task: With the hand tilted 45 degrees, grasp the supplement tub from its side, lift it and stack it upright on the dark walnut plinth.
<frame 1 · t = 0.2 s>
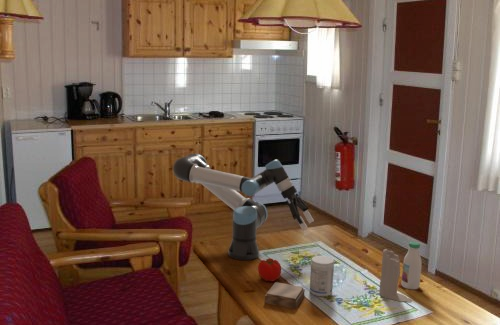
hand: (308, 225, 267), 16 cm above the table, tool tilted 35°, fingers open, 13 cm apart
plinth: (284, 299, 219), on the table
supplement tub: (320, 292, 227), on the table
tomato: (269, 279, 239), on the table
milk bottle: (410, 286, 237), on the table
beige bookend: (395, 297, 226), on the table
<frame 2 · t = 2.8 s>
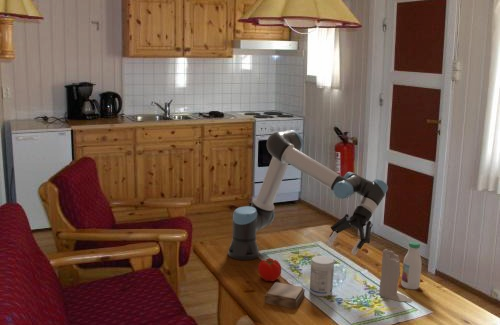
hand: (340, 249, 231), 17 cm above the table, tool tilted 45°, fingers open, 13 cm apart
nothing on the table moved.
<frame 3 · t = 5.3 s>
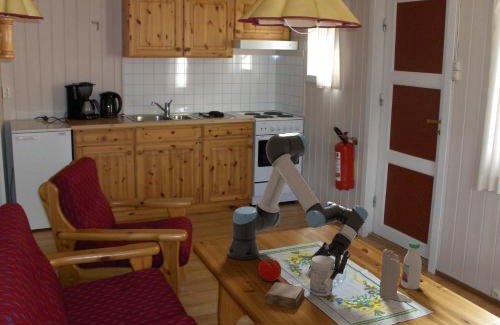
hand: (316, 280, 224), 6 cm above the table, tool tilted 45°, fingers closed on supplement tub, 9 cm apart
supplement tub: (320, 292, 227), on the table, touching gripper
everything else where it was.
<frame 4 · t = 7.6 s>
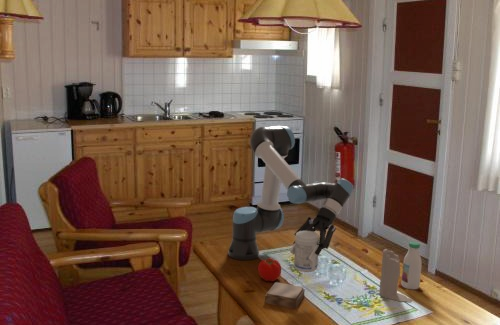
hand: (300, 256, 217), 18 cm above the table, tool tilted 45°, fingers closed on supplement tub, 9 cm apart
supplement tub: (305, 268, 220), point 12 cm above the table, touching gripper
everything else where it was.
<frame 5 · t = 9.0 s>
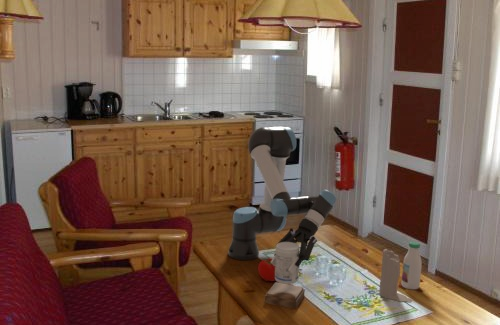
hand: (281, 267, 214), 14 cm above the table, tool tilted 45°, fingers closed on supplement tub, 9 cm apart
supplement tub: (286, 280, 217), point 8 cm above the table, touching gripper
everything else where it was.
when the fingers open (11 cm above the table, at t = 10.0 s): supplement tub drops 1 cm, resting on plinth.
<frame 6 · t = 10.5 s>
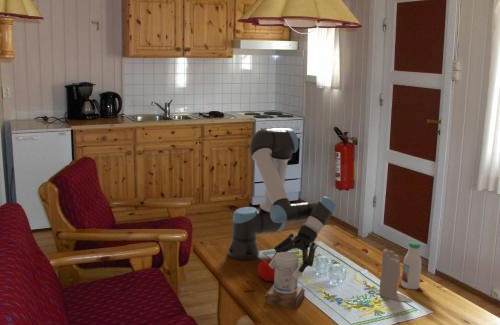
hand: (282, 272, 215), 12 cm above the table, tool tilted 45°, fingers open, 13 cm apart
supplement tub: (285, 290, 219), point 4 cm above the table, touching plinth
everything else where it was.
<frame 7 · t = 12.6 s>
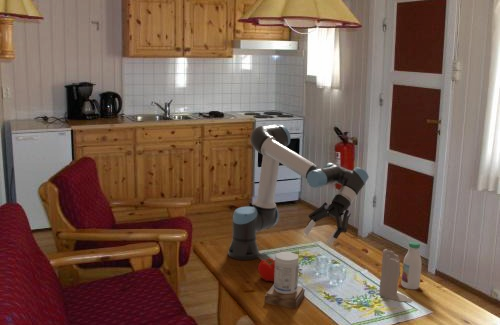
hand: (316, 238, 226), 23 cm above the table, tool tilted 45°, fingers open, 13 cm apart
nothing on the table moved.
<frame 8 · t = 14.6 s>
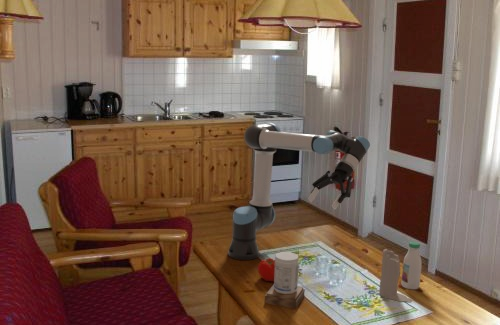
hand: (321, 204, 230), 36 cm above the table, tool tilted 45°, fingers open, 13 cm apart
nothing on the table moved.
at the end: supplement tub inside the target area on the plinth (0.1 cm from its centre), point 3.8 cm above the plinth's base; supplement tub tilted 0°; the gripper is holding nothing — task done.
